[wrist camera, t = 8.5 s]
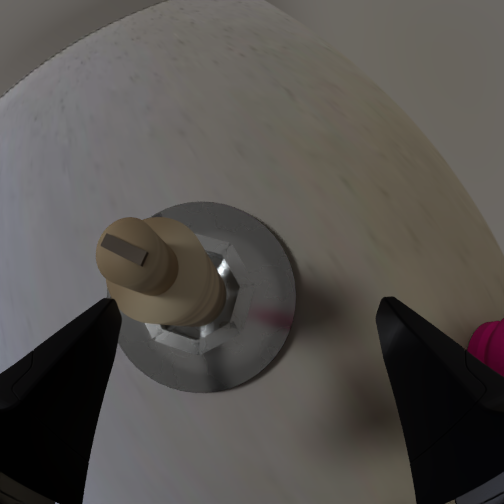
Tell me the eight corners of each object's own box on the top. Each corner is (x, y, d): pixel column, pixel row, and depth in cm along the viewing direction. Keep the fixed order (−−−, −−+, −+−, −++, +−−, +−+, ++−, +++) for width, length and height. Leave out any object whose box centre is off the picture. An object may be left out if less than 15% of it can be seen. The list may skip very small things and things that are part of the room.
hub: (329, 330, 21) (336, 330, 19) (163, 418, 20) (155, 425, 18) (235, 176, 25) (233, 164, 23) (88, 259, 23) (77, 253, 21)
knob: (236, 277, 22) (214, 209, 9) (211, 337, 21) (153, 346, 8) (179, 254, 22) (105, 170, 10) (154, 310, 21) (50, 283, 9)
